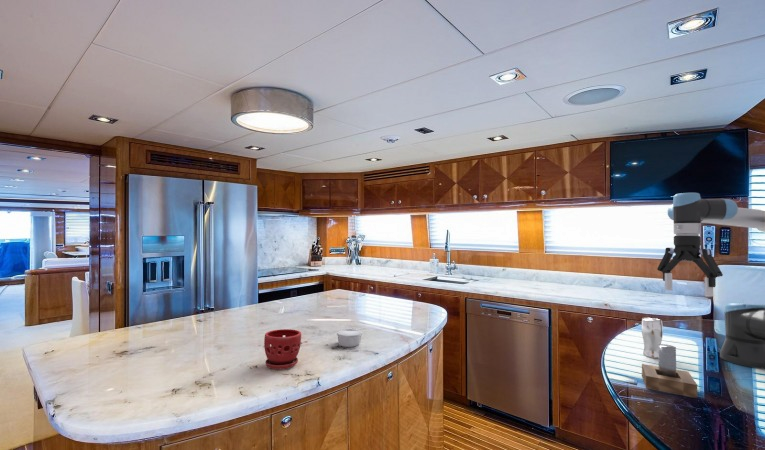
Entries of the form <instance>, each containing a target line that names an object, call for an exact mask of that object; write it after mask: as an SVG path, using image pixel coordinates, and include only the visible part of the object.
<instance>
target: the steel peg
mask: <svg viewBox="0 0 765 450" xmlns="http://www.w3.org/2000/svg"><path fill="white" fill-rule="evenodd" d="M658 367H659V375H662V376H668V377H673V378H676V370H677V348H676V346H674V345H672V344H671V345H670V344H664V343H661V344H659V358H658Z"/></svg>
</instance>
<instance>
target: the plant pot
mask: <svg viewBox="0 0 765 450" xmlns="http://www.w3.org/2000/svg"><path fill="white" fill-rule="evenodd" d="M263 341H264V342H263V344H264V346H263V347H264V352H265V357H266V360H265V362H264V363H265V365H266V367H267V368H270V369H272V370H276V371H279V370H287V369H291V368H292V367H294V366H296V365H297V364H298V362H299V359H298V355H299V352H300V348H301V343H302V332H301V331H299V330H297V329H293V328H292V329H291V328H290V329H288V328H286V329H285V328H283V329H281V328H280V329H273V330H269V331H266V333H264V340H263Z"/></svg>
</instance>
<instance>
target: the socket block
mask: <svg viewBox="0 0 765 450" xmlns="http://www.w3.org/2000/svg"><path fill="white" fill-rule="evenodd" d="M641 377H642V379H643V383H644V386H645V388H646V389H647V390H648V389H649V390H654V391H658V392H659V391H660V392H663V393H667V394H674V395H678V396H679V395H680V396H684V397H688V398H693V399H698V383H697V382H696V381H695V379H694V378H693V376H692V375H691V374H690V372H689V371H688V370H681V369H676V378H673V377H668V376H662V375H659V365H658V366H657V365H652V364H651V365H650V364H645V363H641Z"/></svg>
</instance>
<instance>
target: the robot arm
mask: <svg viewBox="0 0 765 450" xmlns="http://www.w3.org/2000/svg"><path fill="white" fill-rule="evenodd" d="M667 217H668V218H669V219H671V221H673V234H674V235H673V245H674V247H666V248H665V250H664V251H665V252H664V254H663V257H662V259H661V260H660V263H659V264H658V267H657V268H656V271H659V272H661V273H662V281H663V282H664V291H673V273H672V272H671V271H673V270H674V269H675V267H676V266H677V265H678V264H680V262H682V261H688V262H689V261H690V262H691V261H692V262H693V263H695V264H696V266H698V268H699V269H700V270H701V271H702V272H703V274H704V275H705V277H704V297H707V298H710V297H714V288H715V287H716V285H717V284H716V281H717V280H716V279H717V278H718V277H723V276H724V274H723V273H722V271H721V269H720V267H719V266H718V264H717V261H716V260H715V259H714V257H713V255H712V249H710V248H702V249H701V245H702V237H701V234H702V231H701V230H702V228H701V226H702V223H703V224H711V225H722V226H729V227H731V226H732V227H740V228H751V229H756V230H758V231H760V232H762V233H764V232H765V208H762V209H758V208H748V207H747V208H746V207H739V206H738V204H737V203H736V202H735V201H734V200H733V199H728V198H702V197H701V194H700V193H699V192H683V193H682V192H681V193H676V194H675V195H673V200H672V204H671V205H670V206H669V207H668V209H667ZM674 254H675V255H674ZM673 255H674V256H673ZM701 255H702V257H703V258H702V257H701ZM724 326H725V328H724V330H725V332H724V333H725V339H724V342H723V344H722V346H721V349H720V350H719V357H720V359H722V360H724V361H726V362H729V363H733V364H736V365H740V366H744V367H749V368H756V369H765V304H764V303H763V304H761V303H743V302H742V303H741V302H737V303H736V302H735V303H733V302H731V303H727V304H726V305H725V307H724Z"/></svg>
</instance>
